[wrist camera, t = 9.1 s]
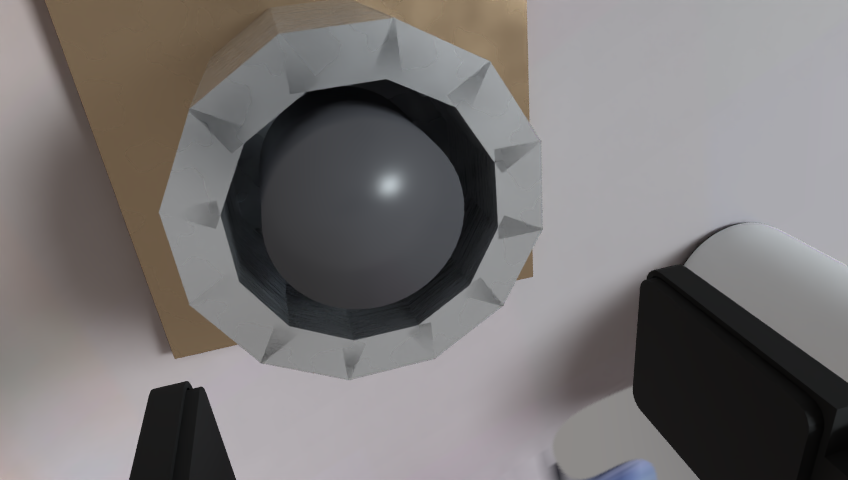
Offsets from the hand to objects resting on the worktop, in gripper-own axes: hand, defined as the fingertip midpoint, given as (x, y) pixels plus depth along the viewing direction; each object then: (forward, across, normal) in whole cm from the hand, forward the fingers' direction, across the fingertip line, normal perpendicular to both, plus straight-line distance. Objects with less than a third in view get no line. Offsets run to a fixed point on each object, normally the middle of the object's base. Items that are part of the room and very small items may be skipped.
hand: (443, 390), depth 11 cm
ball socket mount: (+18, 0, 0) cm, 18 cm away
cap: (+13, 0, 0) cm, 13 cm away
